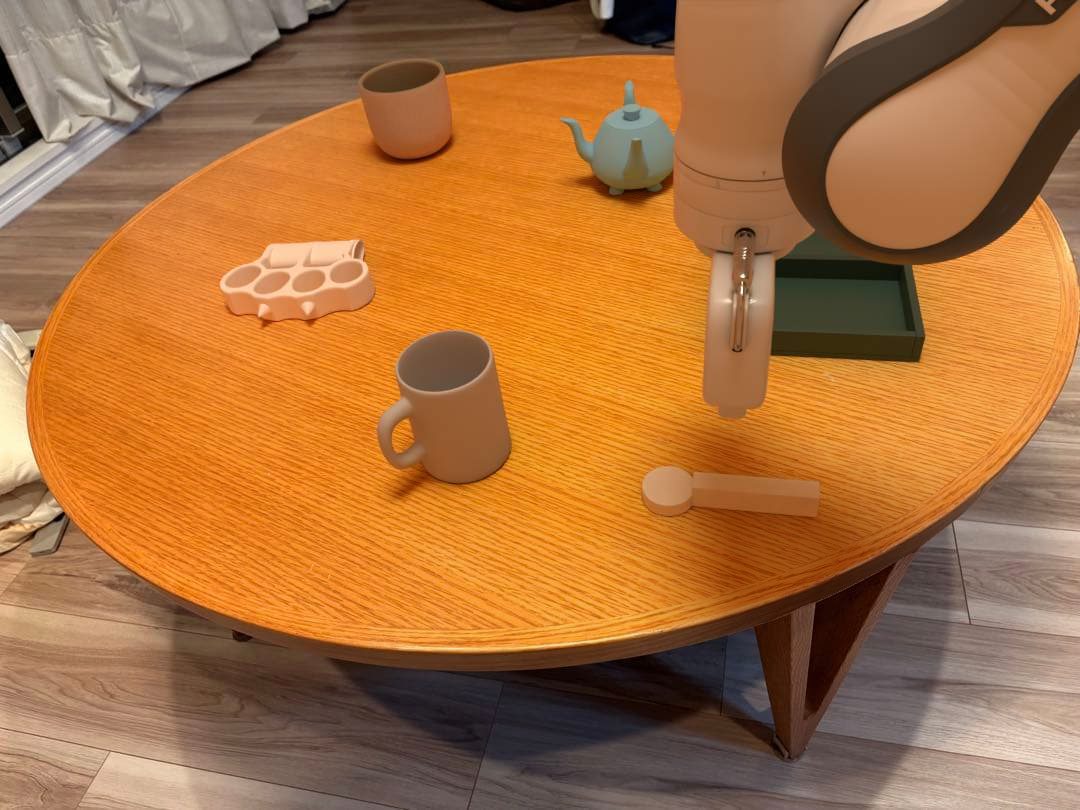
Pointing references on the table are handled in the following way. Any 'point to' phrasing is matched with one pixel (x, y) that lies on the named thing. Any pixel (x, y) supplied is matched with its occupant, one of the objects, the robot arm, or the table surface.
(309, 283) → the knuckle duster
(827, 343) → the tray
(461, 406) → the mug
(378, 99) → the planter
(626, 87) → the teapot
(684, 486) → the spoon
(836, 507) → the table surface
